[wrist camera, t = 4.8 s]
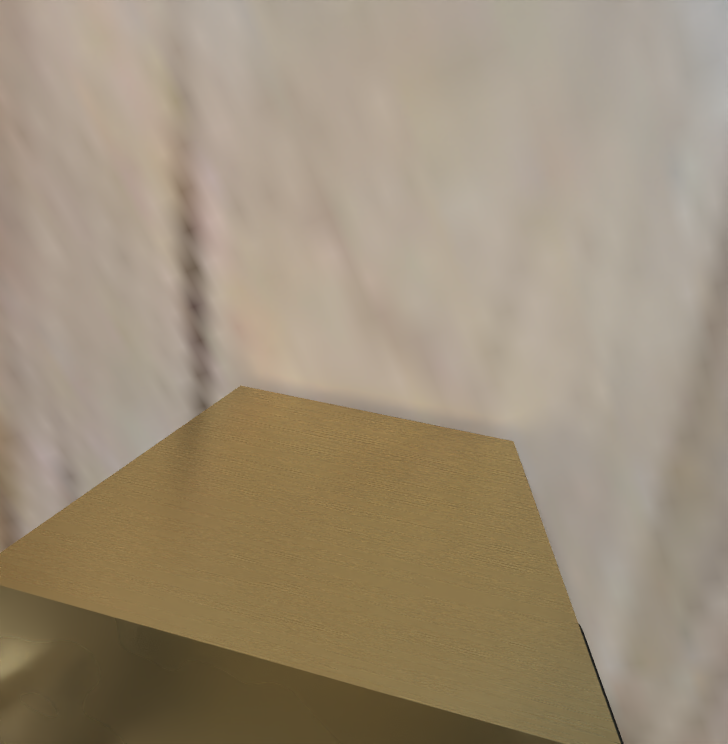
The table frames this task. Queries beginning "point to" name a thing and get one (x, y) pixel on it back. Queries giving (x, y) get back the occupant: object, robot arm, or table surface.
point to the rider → (297, 593)
